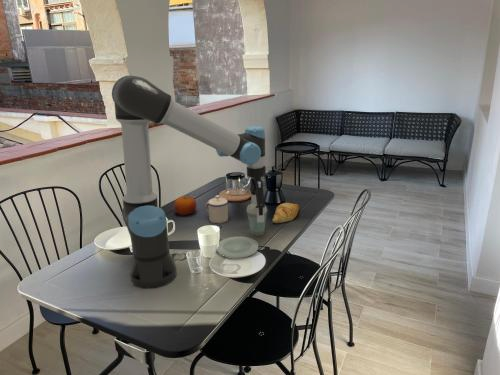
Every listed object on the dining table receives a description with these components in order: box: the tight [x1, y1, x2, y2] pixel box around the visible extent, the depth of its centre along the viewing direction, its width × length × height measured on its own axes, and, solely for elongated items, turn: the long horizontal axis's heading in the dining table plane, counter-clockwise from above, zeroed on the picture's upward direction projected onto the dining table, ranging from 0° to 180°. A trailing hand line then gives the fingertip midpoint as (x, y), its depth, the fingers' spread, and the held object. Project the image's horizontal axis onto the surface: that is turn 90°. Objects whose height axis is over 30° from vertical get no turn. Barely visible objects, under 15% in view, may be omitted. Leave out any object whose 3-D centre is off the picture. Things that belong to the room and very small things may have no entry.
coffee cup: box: [246, 203, 268, 237], centre depth 153 cm, size 8×8×12 cm
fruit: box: [173, 195, 197, 216], centre depth 175 cm, size 11×10×8 cm
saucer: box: [216, 235, 259, 259], centre depth 141 cm, size 16×16×2 cm
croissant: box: [271, 202, 300, 224], centre depth 169 cm, size 21×10×8 cm, turn 144°
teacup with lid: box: [205, 194, 229, 224], centre depth 167 cm, size 12×9×12 cm
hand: (257, 215), depth 152 cm, fingers open, 13 cm apart
